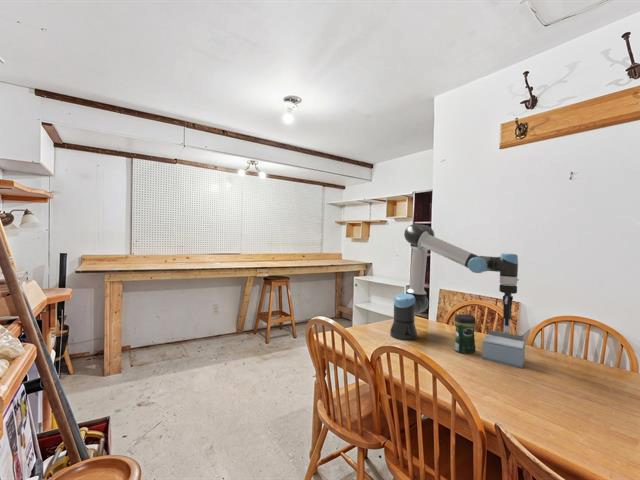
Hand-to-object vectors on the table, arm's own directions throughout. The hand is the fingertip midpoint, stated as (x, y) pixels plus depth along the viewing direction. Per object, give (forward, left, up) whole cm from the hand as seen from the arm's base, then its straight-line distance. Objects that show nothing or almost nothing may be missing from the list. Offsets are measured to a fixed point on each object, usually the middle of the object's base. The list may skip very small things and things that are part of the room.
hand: (506, 331), depth 153 cm
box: (0, -10, -11) cm, 15 cm away
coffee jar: (-17, -11, -11) cm, 23 cm away
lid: (0, -10, -3) cm, 10 cm away
